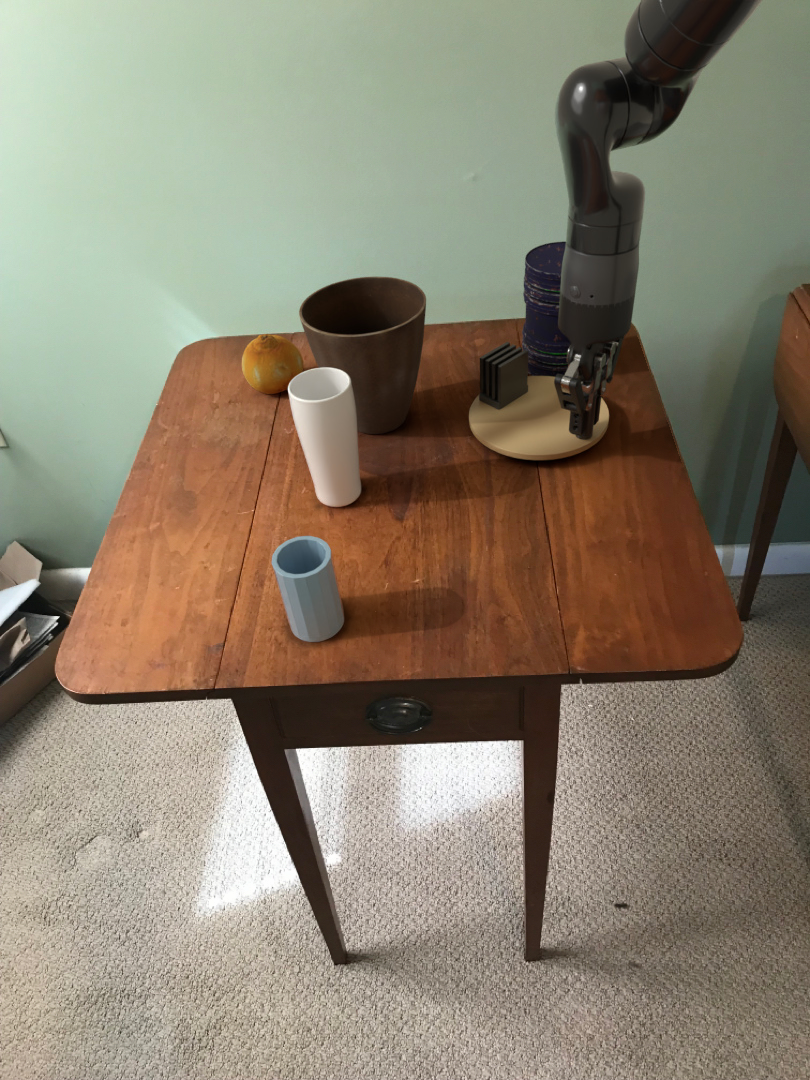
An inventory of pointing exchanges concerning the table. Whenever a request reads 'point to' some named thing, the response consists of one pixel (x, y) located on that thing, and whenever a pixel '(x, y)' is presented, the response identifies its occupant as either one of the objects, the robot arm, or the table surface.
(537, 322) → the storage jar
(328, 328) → the flower pot
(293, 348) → the fruit
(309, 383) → the drinking glass
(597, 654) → the table surface
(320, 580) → the cup
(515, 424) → the round wooden platform
